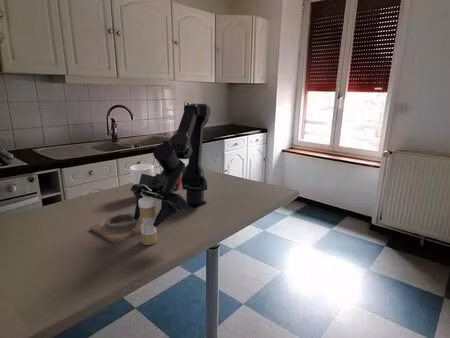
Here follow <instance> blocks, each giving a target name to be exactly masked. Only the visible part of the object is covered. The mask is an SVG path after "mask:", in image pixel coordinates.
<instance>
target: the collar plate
mask: <svg viewBox="0 0 450 338" xmlns="http://www.w3.org/2000/svg"><path fill="white" fill-rule="evenodd" d="M89 230H90V231H91V232H93V233H95V234H97V235H98V236H100V237H101V238H104V239H106V240H107V241H109V242H110V243H113V244H117V243H120V242H123V241H124V240H127V239H128V238H131V237H133V236H136V235H138V234H141V225H140V217H139V218H138V219H137V220H135V219H134V214H133V213H131V212H127V213H117V214H114V215H111V216H109V217H107V218H106V220H105V221H103V222H100V223H97V224H95V225H91V226H90V227H89Z"/></svg>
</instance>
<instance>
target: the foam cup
mask: <svg viewBox="0 0 450 338" xmlns="http://www.w3.org/2000/svg"><path fill="white" fill-rule="evenodd" d="M154 173H155V167H154V165H153V164H148V163H139V164H135V165H131V166H130V167H129V174H130V175H131V180H132V186H133V185H134V184H139V182H140V178H141V174H146V175H150V176H154ZM142 185H143V184H142ZM144 186H145V187H147V188H148V186H146V185H144ZM148 189H149V188H148ZM149 190H150V191H151V189H149Z"/></svg>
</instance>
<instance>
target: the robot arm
mask: <svg viewBox="0 0 450 338" xmlns="http://www.w3.org/2000/svg"><path fill="white" fill-rule="evenodd" d="M210 116H211V107H210V106H208V104H207V103H190V104H189V103H187V104H185V105H184V107H183V113H182V117H181V119H180V122H179V125H178V127H177V131H176V133H175V134H174V135H172V136H171V137H170V138H169V140H163V141H162V143H161V144H158V145H157V146H156V147H155V148H154V149H153V152H152V153H153V157H154V158H155V160H156V161H157V163H158V164H159V165H160V167H161V168H162V170H161V172H160V173H156V174H155V175H153V176H150V175H146V174H141V178H140V182H139V184H134V185H133V184H132V186H131V188H130V192H131V193H133V196H135V199H136V202H135V203H136V204H135V209H134V214H133V215H134V219H135V220H137V219H138V218H140V208H139V204H138V200H139V199H140V198H143V197H153V198H154V199H155V200H159V201H161V204H160V205H161V207H160V209H159V211H158V213H157V215H156V219H155V221H154V224H153V226H154V227H156V228H157V227H158V226H159V225H161V224H162V223H163V222H164V221H166V220H167V219H169V218H170V217H171V216H173V215H175V213H179V212H180V211H183V212H186V210H187V208H188V206H190V207H193V208H199V207H200V206H202V205H205V204H207V201H206V200H205V199H204V192H205V191H207V190H208V180H207V179H206V176H205V170H204V169H203V167H202V165H201V164H202V150H203V149H202V148H203V138H204V137H203V136H204V127H206V125H207V123H208V122H209V117H210ZM182 160H188V161H187V162H188V163H187V164H186V163H184V162H183V161H182ZM180 176H181V187H182V190H183V191H185V190H186V194H185V195H186V196H185V198H186V199H185V198H184V197H183V196H182V195H181V194H178V193H175V192H174V188H178V186H179V185H178V184H177V182H178V180H179V178H180ZM142 184H143V185H142ZM144 185H146V186H148V188H149V189H151V191H150V190H149V189H148V188H147V187H145V186H144ZM178 189H179V188H178Z"/></svg>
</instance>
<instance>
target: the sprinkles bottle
mask: <svg viewBox="0 0 450 338" xmlns="http://www.w3.org/2000/svg"><path fill="white" fill-rule="evenodd" d="M138 204H139V208H140V217H139V218H140V225H141V232H140V234H141V244H143V245H145V246H146V245H147V246H150V245H155V244H156V243H157V242H158V237H157V227H154V226H153V224H154V221H155V219H156V217H157V215H156V199H154V198H153V197H143V198H140V199H139V200H138Z"/></svg>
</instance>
